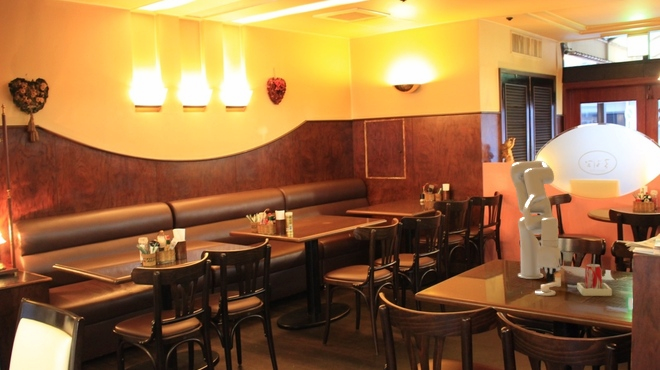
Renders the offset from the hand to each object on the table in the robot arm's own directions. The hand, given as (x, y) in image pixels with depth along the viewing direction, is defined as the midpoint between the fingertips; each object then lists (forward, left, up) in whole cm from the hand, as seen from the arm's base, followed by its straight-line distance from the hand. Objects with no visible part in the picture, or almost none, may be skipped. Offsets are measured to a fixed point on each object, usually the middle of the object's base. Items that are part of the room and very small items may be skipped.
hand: (550, 281), depth 303 cm
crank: (+6, 0, -2) cm, 7 cm away
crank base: (+10, -4, -4) cm, 11 cm away
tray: (+7, +18, -4) cm, 20 cm away
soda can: (+6, +18, -3) cm, 19 cm away
